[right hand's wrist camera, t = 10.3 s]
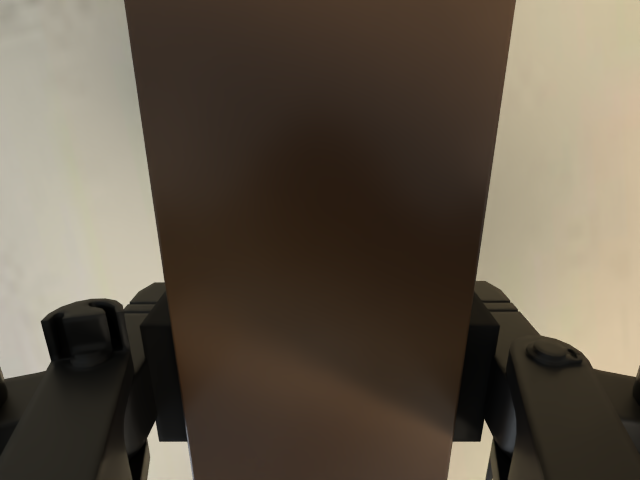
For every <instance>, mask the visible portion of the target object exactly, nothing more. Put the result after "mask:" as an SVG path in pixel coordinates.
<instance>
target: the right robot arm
mask: <svg viewBox="0 0 640 480" xmlns="http://www.w3.org/2000/svg"><path fill="white" fill-rule="evenodd" d="M41 324H42V328H43V332H44V336H45V339H46V343H47V347H48V351H49V355H50V358H51V363H50V365H49V366H48V368H47V370H46V371H43V372H39V373H34V374H29V375H24V376H18V377H13V378H8V379H4V377H3V374H2V371H1V368H0V480H147V476H148V469H149V462H150V453H149V447H148V441H147V437H148V435H149V433H150V431H151V429H152V427H153V425H154V423H155V420H156V425H157V431H158V437H159V442H188V441H187V434H186V427H185V420H184V413H183V406H182V399H181V392H180V385H179V378H178V371H177V364H176V357H175V350H174V343H173V336H172V329H171V322H170V315H169V308H168V302H167V295H166V288H165V283H153V284H151V285H150V286H148V287H146V288H144V289H143V290H141V291H139V292H138V293H137V294H136V296H135V297H134V298H133V299H132V300H131V301H130V304H128V305H127V306H126V307H125V308H124V310H123V305H122V304H120V303H119V302H117V301H116V300H110V299H88V300H83V301H78V302H74V303H71V304H68V305H65V306H62V307H60V308H58V309H56V310H55V311H53V312H51V313H49V314H48V315H47V316H46V317H45V318H44V319H43V320H42V321H41ZM484 419H485V421H486V423H487V425H488V427H489V429H490V431H491V433H492V435H493V441H492V447H491V452H490V458H489V463H488V468H487V474H486V480H492V478H493V480H640V366H639V370H638V373H637V376H636V377H632V376H627V375H622V374H616V373H611V372H606V371H601V370H596V369H593V368H592V366H591V364H590V362H589V360H588V359H587V358H586V357H585V356H584V355H583V353H582V352H580V351H579V350H577V349H576V348H574V347H573V346H571V345H569V344H567V343H564V342H562V341H559V340H557V339H554V338H549V337H545V336H540V334H539V333H538V332H537V331H536V330H535V329H534V328H533V326H532V325H531V324H530V323H529V322H528V321H527V319H526V318H525V317H524V316H523V315H522V314H521V313H520V312H518V309H517V308H516V307H515V306H514V305H513V303H510V300H509V299H508V298H507V296H506V295H505V294H504V293H503V292H502V291H501V290H500V289H498V288H496V287H495V286H493V285H491V284H489V283H488V282H486V281H475V288H474V295H473V302H472V309H471V316H470V323H469V330H468V337H467V344H466V351H465V358H464V365H463V372H462V379H461V386H460V393H459V400H458V407H457V414H456V421H455V428H454V435H453V442H480V441H481V435H482V429H483V424H484Z"/></svg>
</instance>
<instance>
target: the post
mask: <svg viewBox="0 0 640 480" xmlns="http://www.w3.org/2000/svg"><path fill="white" fill-rule="evenodd" d="M124 2H125V9H126V16H127V23H128V30H129V37H130V44H131V51H132V58H133V65H134V72H135V79H136V86H137V93H138V100H139V107H140V114H141V121H142V128H143V135H144V142H145V148H146V155H147V162H148V169H149V176H150V183H151V190H152V197H153V204H154V211H155V218H156V225H157V232H158V239H159V246H160V253H161V260H162V267H163V274H164V281H165V288H166V295H167V302H168V308H169V315H170V322H171V329H172V336H173V343H174V350H175V357H176V364H177V371H178V378H179V385H180V392H181V399H182V406H183V413H184V420H185V427H186V434H187V441H188V448H189V455H190V461H191V468H192V475H193V480H447V476H448V469H449V462H450V455H451V449H452V442H453V435H454V428H455V421H456V414H457V407H458V400H459V393H460V386H461V379H462V372H463V365H464V358H465V351H466V344H467V337H468V330H469V323H470V316H471V309H472V302H473V295H474V288H475V281H476V274H477V267H478V260H479V253H480V246H481V240H482V233H483V226H484V219H485V212H486V205H487V198H488V191H489V184H490V177H491V170H492V163H493V156H494V149H495V142H496V135H497V128H498V121H499V114H500V107H501V100H502V93H503V86H504V79H505V72H506V65H507V58H508V51H509V44H510V37H511V30H512V24H513V17H514V10H515V3H516V0H124Z"/></svg>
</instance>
